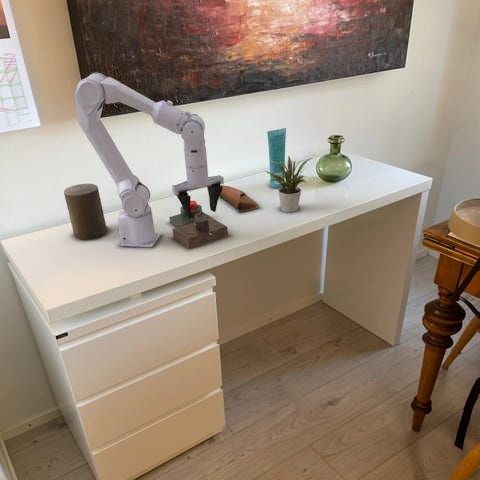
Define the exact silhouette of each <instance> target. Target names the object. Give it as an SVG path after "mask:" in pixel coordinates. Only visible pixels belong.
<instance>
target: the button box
mask: <svg viewBox="0 0 480 480" xmlns="http://www.w3.org/2000/svg"><path fill="white" fill-rule="evenodd" d="M179 209H180V210H179V212H180V213H178V214H175V215H171V216H169V217H168V218H169V223H170V224H171V225H172V226H174V228H177V227H180V226H183V225H187V224H190V223H193V222H195V214H199V213H200V214H201V215H202V216H203V217H205V218H210V217H211V215H209V214H207V213H206V212H204V211H203V206H202V205H201V204H199V203H197V209H196V210H191V218H188V217H186V215H185V211H184V209H183V206H182V205H181V207H180V208H179ZM211 218H212V217H211Z"/></svg>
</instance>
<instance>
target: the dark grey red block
mask: <svg viewBox="0 0 480 480" xmlns="http://www.w3.org/2000/svg"><path fill="white" fill-rule="evenodd" d="M195 223H196V227H197V228H198V229H200V230H201V231H202V232H204V233H206V232H209V223H208V220H207V219H206V218H205V217H203V216H202V215H201V214H200V213H199V214H195Z"/></svg>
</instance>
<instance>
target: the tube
mask: <svg viewBox="0 0 480 480" xmlns="http://www.w3.org/2000/svg"><path fill="white" fill-rule="evenodd" d="M266 133H267V144H268V145H267V146H268V159H269V162H268V163H269V172H272V173H274V174H276V175H278V176H280V177H281V178H282V179H283V180H284V181H285V179H284V178H285V177H284V176H282V175H283V173H284V172H283V173H282V171H283V170H282V171H281V169H280V168H281V167H280V168H279V165H278V164H276V163H274V162H277V163H279V164H280V165H281V166H282V167H283V168H284V169H285V167H284V165H285V166H286V138H287V128H286V127H283V128H278V129H273V130H268V131H267V132H266ZM272 161H274V162H272ZM280 161H281V162H282V163H283V164H284V165H283V164H282V163H281V162H280ZM271 166H272V167H271ZM273 167H274V168H273ZM275 168H276V169H275ZM285 170H286V169H285ZM284 175H285V174H284ZM272 179H275V178H274V177H272V176H271V175H270V174H269V181H270V180H272ZM269 183H270V187H271V188H275V189H278V188H279V189H280V188H282V187H283V186H282V185H281V184H280V183H279V182H278V181H270V182H269Z"/></svg>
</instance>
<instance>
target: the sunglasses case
mask: <svg viewBox="0 0 480 480" xmlns="http://www.w3.org/2000/svg"><path fill="white" fill-rule="evenodd" d="M220 185H221V186H222V192H221V194H220V196H219V198H221V199H222V200H224V201H225V202H227V203H228V204H229V205H231V206H232V207H233V208H235V210H237V211H238V212H240V213H246V212H250V211H253V210H257V209H259V208H260V205H259V204H258V203H257V202H256V201H255V200H254V199H252V198H251V197H250V196H248V194H246V192H245V191H244V190H241V189H239V188H238V189H237V188H235V187H232V186H229V185H224V184H220Z"/></svg>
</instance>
